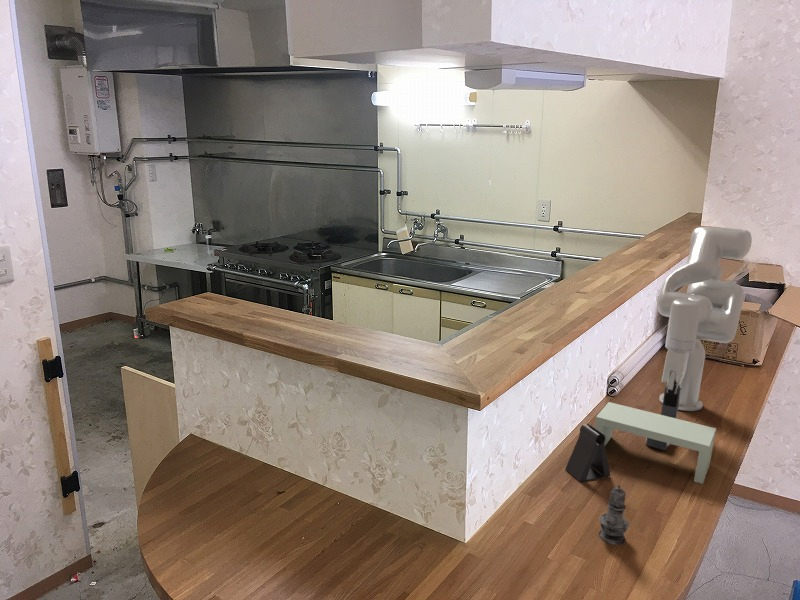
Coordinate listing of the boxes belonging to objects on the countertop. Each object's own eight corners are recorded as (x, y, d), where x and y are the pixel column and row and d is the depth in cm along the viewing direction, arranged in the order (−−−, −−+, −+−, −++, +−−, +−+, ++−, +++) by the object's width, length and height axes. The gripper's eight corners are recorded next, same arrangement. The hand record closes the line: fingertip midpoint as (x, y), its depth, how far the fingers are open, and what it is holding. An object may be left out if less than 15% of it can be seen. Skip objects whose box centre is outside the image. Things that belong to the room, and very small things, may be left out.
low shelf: (604, 435, 179) (608, 401, 177) (709, 464, 166) (716, 428, 163) (591, 451, 170) (596, 416, 167) (702, 483, 156) (709, 446, 153)
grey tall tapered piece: (623, 549, 130) (630, 496, 126) (593, 538, 132) (600, 486, 129) (629, 534, 134) (637, 483, 131) (601, 525, 137) (608, 474, 134)
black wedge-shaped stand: (595, 465, 163) (600, 421, 160) (610, 476, 157) (616, 431, 154) (564, 470, 160) (570, 425, 157) (579, 482, 154) (585, 436, 151)
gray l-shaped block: (659, 422, 188) (664, 384, 185) (677, 427, 186) (683, 388, 183) (645, 445, 174) (651, 404, 171) (665, 450, 172) (671, 409, 169)
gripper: (671, 333, 188) (662, 392, 193) (660, 348, 175) (651, 410, 180) (699, 338, 184) (689, 398, 189) (689, 354, 171) (679, 417, 176)
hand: (670, 403), depth 184 cm, fingers closed on gray l-shaped block
